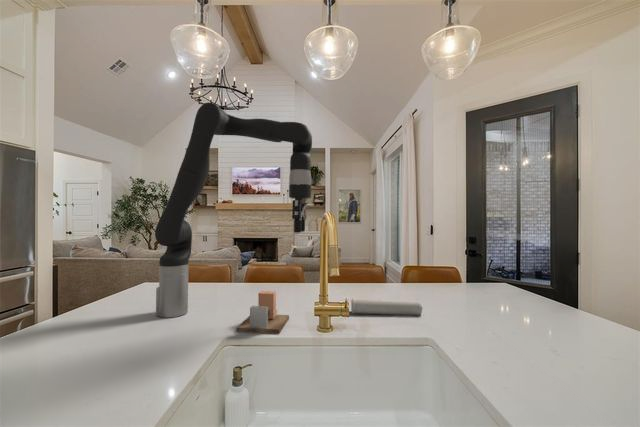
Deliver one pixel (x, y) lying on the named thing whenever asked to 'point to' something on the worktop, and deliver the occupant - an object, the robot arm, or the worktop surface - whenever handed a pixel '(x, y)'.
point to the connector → (259, 317)
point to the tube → (386, 307)
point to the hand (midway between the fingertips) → (299, 232)
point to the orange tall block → (268, 302)
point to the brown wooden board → (273, 327)
